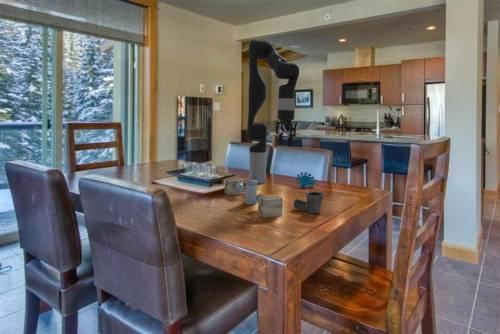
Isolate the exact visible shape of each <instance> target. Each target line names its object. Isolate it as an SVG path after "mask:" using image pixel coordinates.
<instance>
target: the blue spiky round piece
mask: <svg viewBox="0 0 500 334" xmlns="http://www.w3.org/2000/svg"><path fill="white" fill-rule="evenodd" d="M303 174H304V175H303ZM295 180H296V181H297V182H296V184H297V185H299V187H300V188H302V187H303V188H304V189H307V188H308V189H311V187H313V186H314V185H315V184H316V183H317V182H318V180H317V179H315V177H314V176H313V175H312V174H311V173H308V172H307V171H305V172H304V173H303V172H300V174H297V175H296V179H295Z"/></svg>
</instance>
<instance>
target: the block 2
mask: <svg viewBox="0 0 500 334" xmlns="http://www.w3.org/2000/svg"><path fill="white" fill-rule="evenodd" d="M283 205H284V198H283V197H282V196H280V195H277V194H273V195H264V196H263V197H258V202H257V214H258V215H259V216H260V217H261V218H263V219H267V218H273V217H282V216H283V209H284V208H283Z"/></svg>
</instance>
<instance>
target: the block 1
mask: <svg viewBox="0 0 500 334" xmlns="http://www.w3.org/2000/svg"><path fill="white" fill-rule="evenodd" d="M234 182H238V183H240V184H242V185H244V186H245V180H244V179H243V178H240V177H236V178H234V177H233V178H224V194H225V195H227V196H238V195H244V193H245V191H244V192H239V191H237V190H235V189H234V188H233V183H234Z"/></svg>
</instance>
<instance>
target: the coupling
mask: <svg viewBox="0 0 500 334" xmlns="http://www.w3.org/2000/svg"><path fill="white" fill-rule="evenodd" d="M244 185H245V200H244V204H245V205H249V206H254V205H258V202H257V201H256V196H257V195H258V192H257V191H258V190H257V189H258V181H257V180H249V179H245V180H244Z"/></svg>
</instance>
